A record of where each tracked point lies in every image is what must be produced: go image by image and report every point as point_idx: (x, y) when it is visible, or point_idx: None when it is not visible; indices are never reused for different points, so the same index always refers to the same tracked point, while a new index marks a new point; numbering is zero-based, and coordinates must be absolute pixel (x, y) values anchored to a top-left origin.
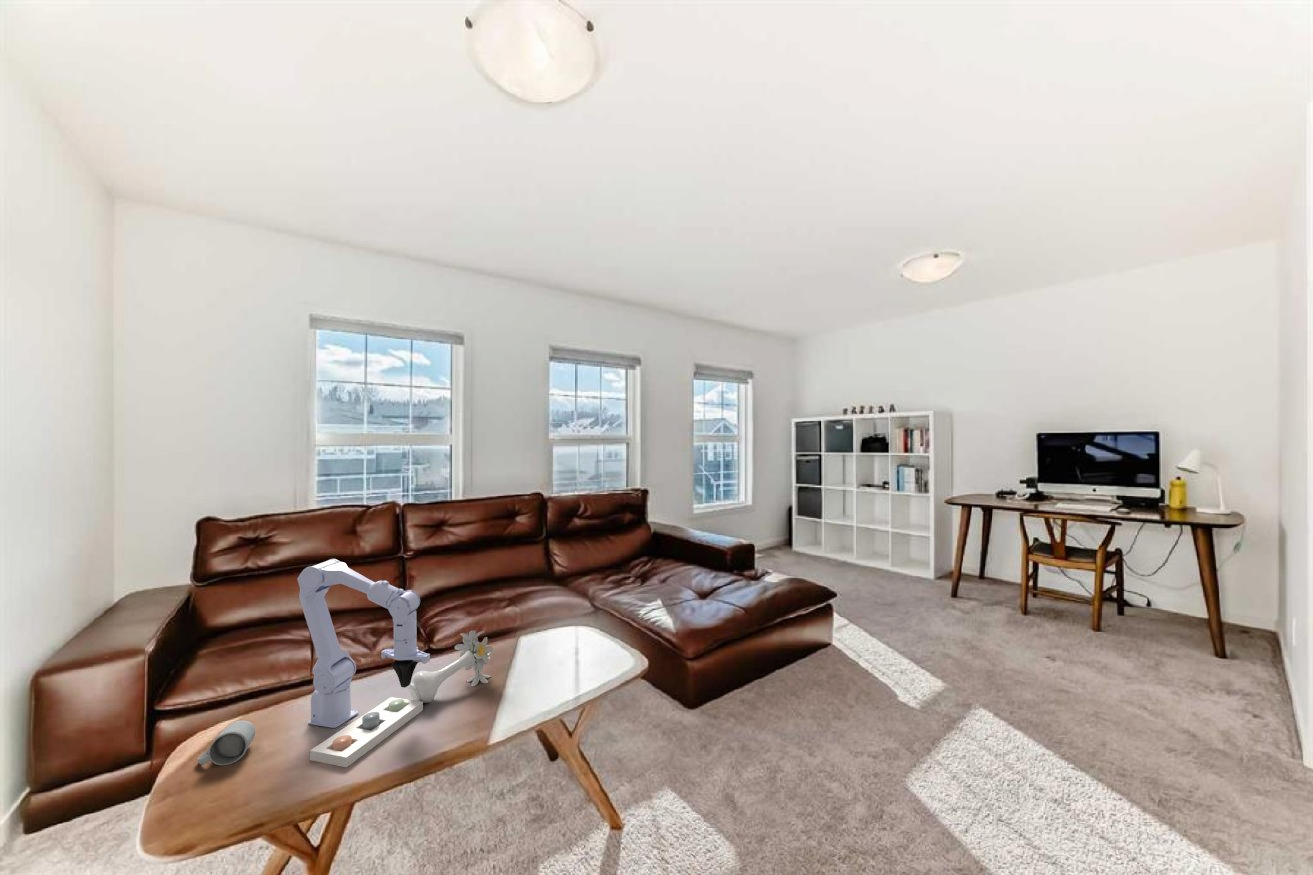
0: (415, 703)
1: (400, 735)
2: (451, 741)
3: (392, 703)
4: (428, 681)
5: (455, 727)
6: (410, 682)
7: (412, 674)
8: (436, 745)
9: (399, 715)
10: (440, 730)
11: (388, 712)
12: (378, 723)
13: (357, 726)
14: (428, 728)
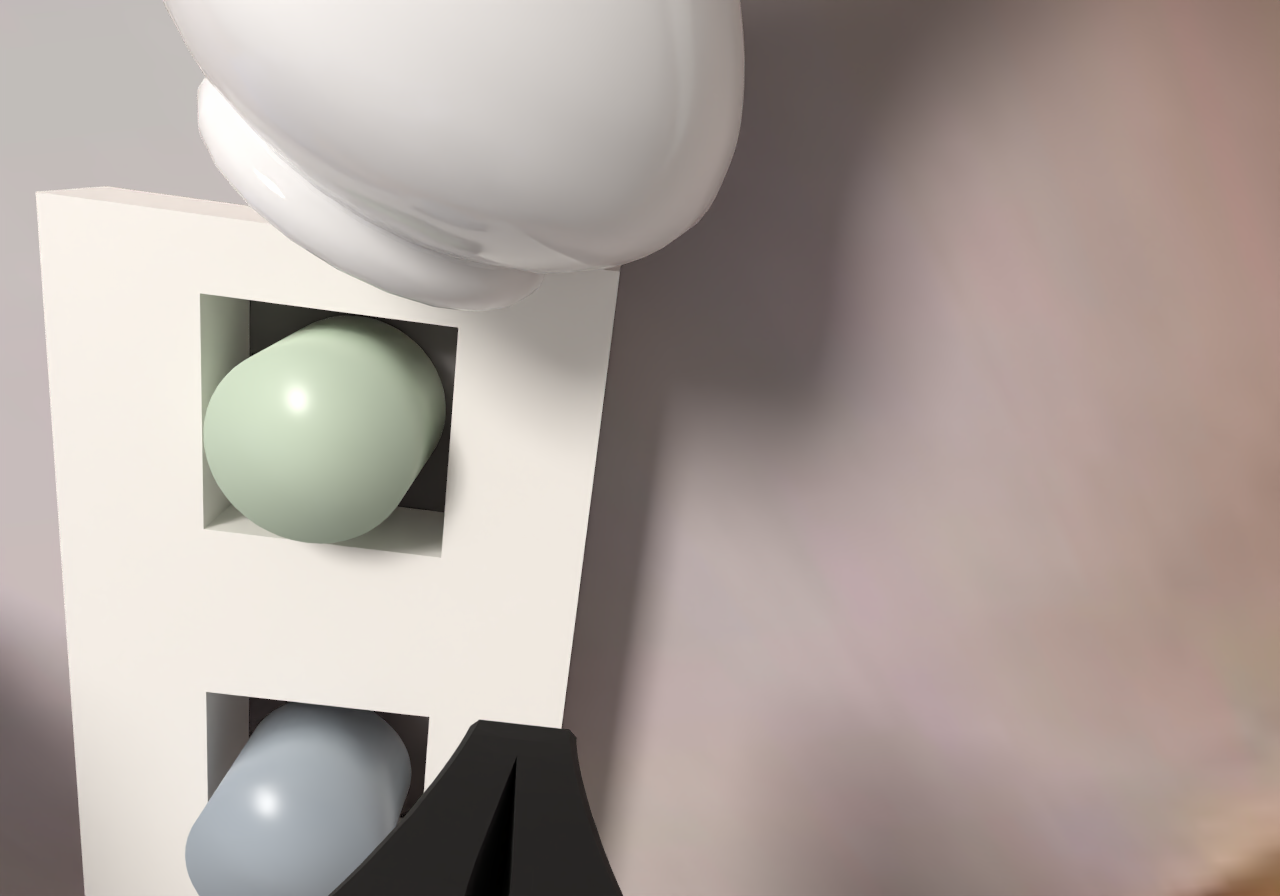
0: (541, 328)
1: (674, 734)
2: (1236, 763)
3: (266, 471)
4: (662, 176)
5: (1196, 555)
6: (574, 750)
7: (604, 859)
8: (1112, 826)
9: (521, 616)
10: (1050, 620)
11: (330, 570)
12: (399, 792)
13: None
14: (902, 602)
